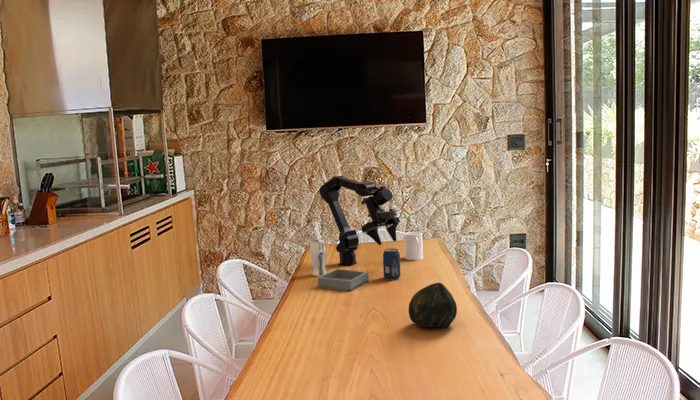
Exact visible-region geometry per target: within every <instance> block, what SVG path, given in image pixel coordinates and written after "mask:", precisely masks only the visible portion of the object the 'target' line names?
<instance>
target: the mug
mask: <svg viewBox="0 0 700 400" xmlns="http://www.w3.org/2000/svg"><path fill="white" fill-rule="evenodd" d="M404 240H405V243H404V244H405V258H404V259H405V260H407V261H421V260H424V249H423V248H424V247H423V246H424V244H423V242H424V241H423V232H421V231H408V232H407V231H406V232H405V233H404Z"/></svg>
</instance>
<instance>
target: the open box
mask: <svg viewBox="0 0 700 400" xmlns="http://www.w3.org/2000/svg"><path fill="white" fill-rule="evenodd" d="M369 277H370V276H369V272H368V271H362V270H361V271H359V270H352V269H351V270H350V269H339V268H337V269H334V270H332V271H329V272H326V274H325V275H323V276H317V288H320V289H329V290H336V291H337V290H338V291H344V292H353V291H355V290H357V289H358V288H360V287H362V286H363V285H366V284H367V283H369V280H370V279H369Z"/></svg>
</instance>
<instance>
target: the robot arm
mask: <svg viewBox="0 0 700 400" xmlns="http://www.w3.org/2000/svg"><path fill="white" fill-rule="evenodd" d="M342 188H345V189H347V190H351V191H352V192H353V191H354V192H355V194H356V195H358V196H360V197H361V198H363V197H364V198H363V199H362V201H361V205H365V206H366V209H367V211H368V215H367V217H368V218H370V219H371V221H369V222H366V223H365V224H363V225H362V226H361V228H360V229H361V232H362V234H365V235H368V237H369V238H371V239H372V240H373V241H374V242H376V243H377V245H378V246H381V245H382V241H381V237H380V235H379V228H381V227H385V230H386V232H388V235H389V236H390V238H391V239H392V241H393V242H396V241H397V227H398V225H399V224H400V223H401V221H400V218H399V217H397V210H396V208H395V207H394V208H393V207H392V208H389V210H387V211H386V210H385V208H382V206H384V205H385V204H386V203H388V202H390V201H392V199H393V193H392V191H390V189H389V188H387V186H385V185H383V186H380V187H378V186H376V185H375V183H374V182H370V181H357V180H355V179H351V178H348V177H345V176H342V175H338V176H336V175H335V176H333V177H331V179H330V180H327V182H325V183H323V184H322V185H320V187H319V190H318V191H319V195H320V197H321V198H322V200H323V201H324V202H325V203H326V204H328V207H329V209H330V211H331V214H332V216H333V219H334V221H335V224H336V226H337V229H338V232H339V234H338V235H339V236H338V244H337V245H336V247H335V251H336V252H337V253H339V263H337V264H338V265H339V266H350V267H351V266H353V265H354V264H355V265H356V264H357V261H356V259H357V258H356V257H357V256H356V252H355V251H357V250H358V248H359V246H358V245H359V243H360V240H359V235H358V232H357V231H356V229H351V228H350V226H349V223H348V220H347V218H346V216H345V213H344V211H343V208H342V206H341V203H340V201H339V197H340V190H341V189H342Z"/></svg>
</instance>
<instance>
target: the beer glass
mask: <svg viewBox="0 0 700 400" xmlns="http://www.w3.org/2000/svg"><path fill="white" fill-rule="evenodd" d="M309 251H310V252H309V253H310V259H311V263H312V274H311V275H312V277H313V276H314V277H320V276H323V275H325V274H327V270H326V260H327V242H326V239H324V238H315V239H312V240H310V242H309Z"/></svg>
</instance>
